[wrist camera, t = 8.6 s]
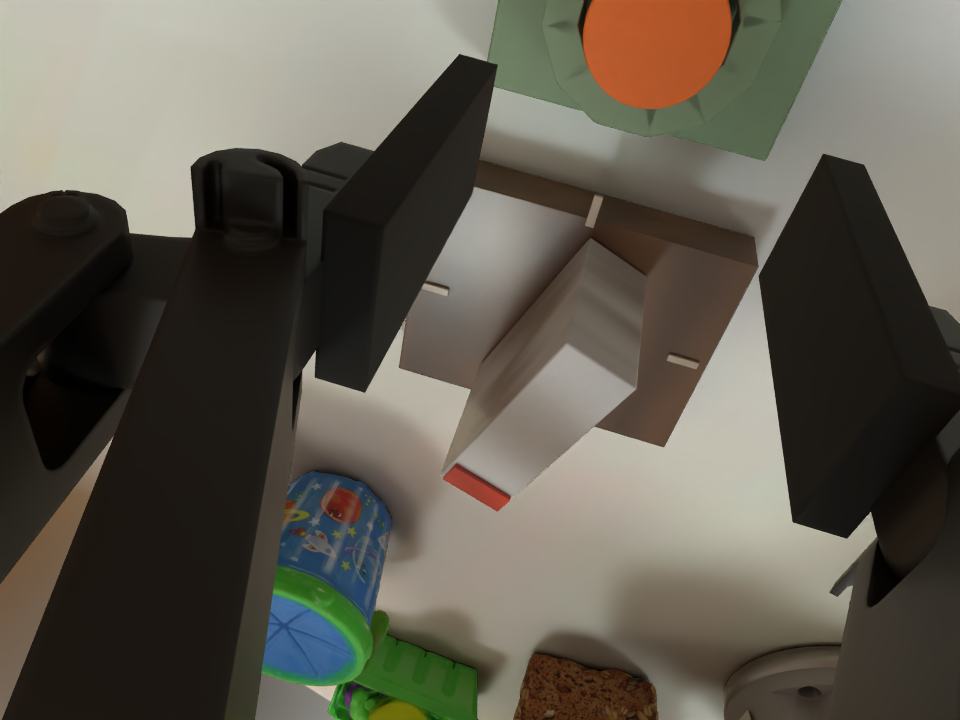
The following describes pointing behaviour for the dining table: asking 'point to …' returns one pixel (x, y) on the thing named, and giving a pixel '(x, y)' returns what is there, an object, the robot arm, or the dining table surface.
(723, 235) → the brown flat block
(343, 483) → the snack cup
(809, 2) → the button housing
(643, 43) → the button
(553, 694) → the bread
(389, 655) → the fruit basket
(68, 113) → the dining table surface
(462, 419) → the tap lever
